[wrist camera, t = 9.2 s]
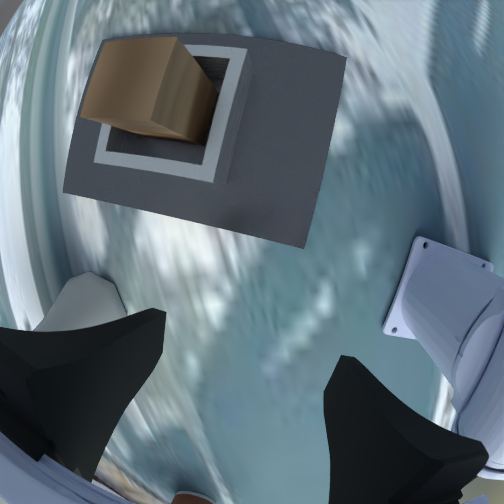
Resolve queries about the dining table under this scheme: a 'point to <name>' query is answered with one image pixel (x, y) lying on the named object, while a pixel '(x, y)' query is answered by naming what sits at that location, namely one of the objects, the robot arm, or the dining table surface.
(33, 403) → the robot arm
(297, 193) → the post socket base
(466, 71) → the dining table surface
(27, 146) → the dining table surface
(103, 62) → the walnut rail post
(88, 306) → the flask
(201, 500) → the coffee cup
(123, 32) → the dining table surface
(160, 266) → the dining table surface
